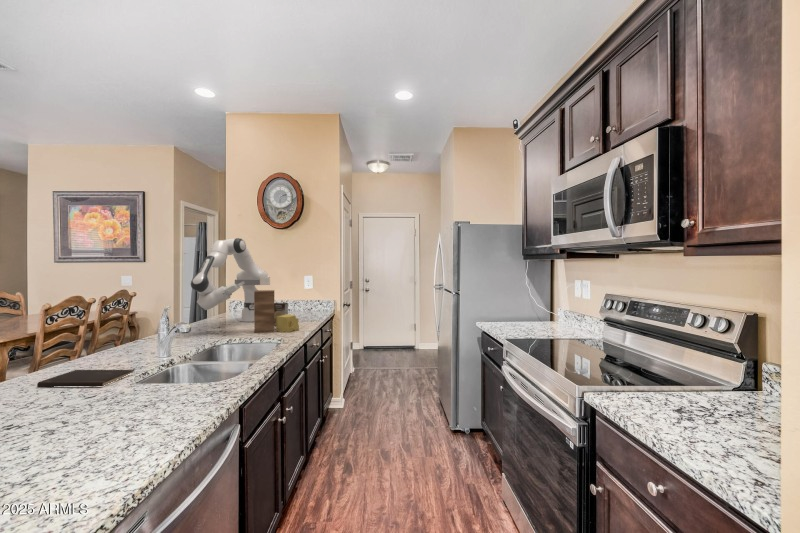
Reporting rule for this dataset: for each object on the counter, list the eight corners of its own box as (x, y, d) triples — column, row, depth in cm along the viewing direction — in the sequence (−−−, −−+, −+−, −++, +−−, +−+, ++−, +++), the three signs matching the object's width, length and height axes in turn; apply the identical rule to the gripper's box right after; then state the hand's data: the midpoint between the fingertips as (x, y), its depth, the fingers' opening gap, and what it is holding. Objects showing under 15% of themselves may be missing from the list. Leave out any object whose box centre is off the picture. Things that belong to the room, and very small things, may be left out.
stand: (254, 329, 250) (254, 290, 249) (274, 328, 254) (274, 290, 253) (253, 332, 238) (253, 291, 238) (274, 331, 242) (274, 291, 242)
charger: (235, 284, 243) (235, 277, 243) (269, 284, 250) (269, 276, 250) (234, 285, 237) (234, 277, 237) (269, 284, 244) (269, 277, 244)
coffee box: (272, 326, 263) (272, 303, 263) (276, 324, 270) (275, 302, 270) (284, 326, 263) (284, 303, 262) (288, 325, 269) (288, 302, 269)
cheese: (299, 330, 249) (299, 314, 249) (287, 332, 240) (287, 316, 240) (286, 328, 254) (286, 314, 254) (275, 331, 244) (275, 316, 244)
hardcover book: (76, 375, 149) (76, 369, 149) (134, 375, 149) (134, 369, 149) (36, 389, 133) (36, 382, 133) (102, 389, 133) (102, 382, 133)
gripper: (219, 289, 228) (240, 278, 232) (223, 287, 247) (243, 277, 251) (224, 298, 229) (246, 287, 233) (228, 296, 248) (248, 285, 252)
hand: (244, 281), depth 242 cm, fingers closed on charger, 3 cm apart
